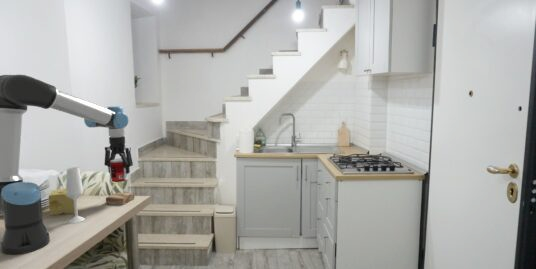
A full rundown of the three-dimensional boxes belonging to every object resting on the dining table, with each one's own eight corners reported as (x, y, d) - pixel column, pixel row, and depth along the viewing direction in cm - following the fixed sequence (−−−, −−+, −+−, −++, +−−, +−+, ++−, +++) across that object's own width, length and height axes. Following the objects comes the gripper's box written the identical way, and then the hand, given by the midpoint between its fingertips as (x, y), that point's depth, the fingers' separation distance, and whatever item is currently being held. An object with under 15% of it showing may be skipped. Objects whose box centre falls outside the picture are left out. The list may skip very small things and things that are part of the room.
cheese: (74, 213, 165) (73, 193, 163) (48, 216, 161) (46, 195, 159) (77, 206, 174) (76, 187, 173) (53, 209, 170) (51, 189, 169)
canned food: (130, 178, 185) (129, 158, 183) (122, 182, 177) (121, 161, 175) (116, 178, 185) (115, 158, 184) (108, 182, 177) (107, 161, 176)
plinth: (123, 204, 176) (123, 198, 176) (106, 203, 178) (105, 197, 178) (134, 198, 186) (134, 193, 186) (118, 197, 188) (117, 191, 188)
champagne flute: (65, 221, 154) (60, 169, 151) (78, 216, 160) (75, 166, 157) (74, 223, 151) (70, 170, 148) (88, 218, 157) (84, 167, 154)
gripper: (138, 135, 180) (141, 178, 183) (104, 134, 183) (106, 176, 187) (130, 137, 172) (133, 181, 175) (94, 136, 176) (97, 179, 179)
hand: (119, 179), depth 181 cm, fingers closed on canned food, 8 cm apart
